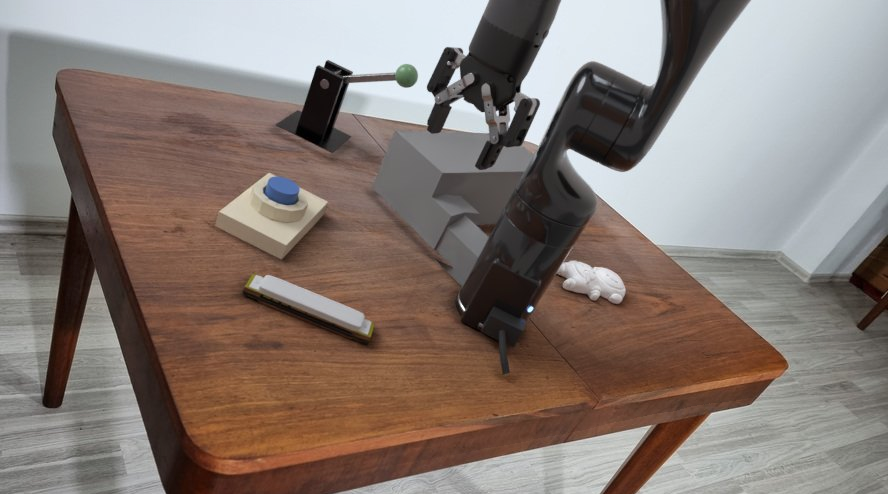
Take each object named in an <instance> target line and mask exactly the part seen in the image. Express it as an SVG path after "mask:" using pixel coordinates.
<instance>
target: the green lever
mask: <svg viewBox="0 0 888 494" xmlns="http://www.w3.org/2000/svg"><path fill="white" fill-rule="evenodd" d="M332 72H334V73H336V74H338V75H340V76H342V77H344V81H343V83H349V84H356V83H374V82H375V83H377V82H393V81H395V82H396V83H397V85H398V86H399V87H402V88H407V89H409V88H411V87H414V86H415V85H416V83H417V82H418V79H419V73H418V70H417V68H416V66H414V65H412V64H410V63H403V64H400V66H398V68H397V69H396V70H395V71H394V72H381V73H379V72H378V73H361V74H352V75H342V73H341V70H335V71H332ZM342 86H343V84H342Z"/></svg>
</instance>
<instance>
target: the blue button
mask: <svg viewBox="0 0 888 494" xmlns="http://www.w3.org/2000/svg"><path fill="white" fill-rule="evenodd" d="M275 176H276V177H271V178H270V179H269V180H268V183H267V186H266V189H265V195H266V196H267V197H268V198H269V199H270V200H272V201H274V202H276V203H278V204H283V205H294V204H295V202H296V200H297V197H298V194H299V191H300V189H299V188H300V186H299V185H298V184H297V183H296V182H295V181H293V180H291V179H289V178H287V177H283V176H277V175H275Z"/></svg>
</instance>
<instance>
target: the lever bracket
mask: <svg viewBox="0 0 888 494" xmlns="http://www.w3.org/2000/svg"><path fill="white" fill-rule="evenodd" d="M335 70H341V73H342V75H354V71H352V70H350V69H348V68H346V67H343V66H342V65H340V64H338V63H336V62H334V61H332V60H330V59H327V60H325V62H324V66H322V65H320V64H319V65H316V67H315V69H314V72H313V76H312V79H311V82H310V85H309V88H308V91H307V94H306V98H305V101H304V103H303V107H302V110H299V109H297V110H295V111H293V112H292V113H291V114H289V115H287V116H286V117H285V118H284V119H282V120H280V121H279V122H277V123H276V124H275V126H276V127H278V128H281V130H284V131H286V132H289V133H290V134H292V135H294V136H296V137H298V138H300V139H303V140H305V141H306V142H309V143H311V144H313V145H315V146H317V147H319V148H321V149H323V150H324V151H327V152H329V153H331V154H334V152H336V150H339V148H340V147H342V145H343V144H344V143H346V142H347V141H348V140H349V139H350V138H352V136H351V135H350V134H347V133H346V132H344V131H342V130H340V129H337V128H336V127H335V125H336V122H337V120H338V116H339V114H340V110H341V108H342V105H343V102H344V99H345V96H346V94H347V91H348V88H349V85H350V83H343V81H344V77H342V76H340V75H338V74H336V73H334V72H332V71H335ZM342 84H343V86H342Z"/></svg>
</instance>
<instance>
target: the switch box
mask: <svg viewBox="0 0 888 494" xmlns="http://www.w3.org/2000/svg"><path fill="white" fill-rule="evenodd" d="M276 176H277V175H275V174H273V173H271V172H268V173H267V174H265V175H264V176H263V177H261V178H260V179H259V180H258V181H256V182H255V183H254V184H252V185H251V186H249V187H248V188H247V189H246V190H245V191H243V192H241V194H240V195H238V196H237V197H236V198H234V199H233V200H232V201H231V202H229V203H228V204H227V205H225V206H224V207H223V208H222V209H220V210H219V211H218V214H217V218H216V221H215V225H214V227H215V228H218V229H220V230H222V231H224V232H226V233H228V234H230V235H231V236H233V237H236V238H237V239H240V240H242V241H243V242H245V243H247V244H249V245H251V246H253V247H255V248H257V249H259V250H262V251H263V252H265V253H267V254H269V255H272V256H274V257H275V258H277V259H280V260H283V259H284V258H285V257H286V255H288V253H289V252H291V251H292V250H293V248H294V247H296V245H297V244H298V243H299V242H300V241H301V240H303V238H304V237H305V236H306V234H308V233H309V231H310V230H311V229H313V227H314V226H315V225H316V224H317V223H318V222H319V221H320V219H322V218H323V216H324V215H325V212H326V210H327V208H328V205H329V201H327V200H325V199H324V198H322V197H319V196H317V195H315V194H314V193H311V192H309V191H307V190H305V189H304V188H301V187H299V189H300V191H299V194H298V197H297V200H296V202H295V204H294V205H283V204H278V203H276V202H274V201H272V200H270V199H269V198H268V197H267V196H266V195H265V189H266V186H267V183H268V180H269V179H270V178H271V177H276Z"/></svg>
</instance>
